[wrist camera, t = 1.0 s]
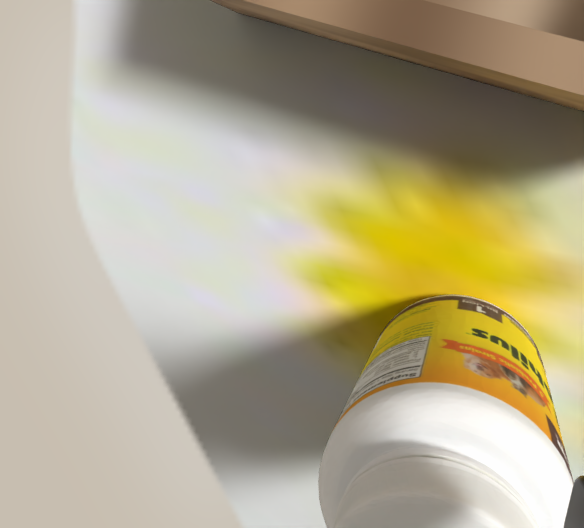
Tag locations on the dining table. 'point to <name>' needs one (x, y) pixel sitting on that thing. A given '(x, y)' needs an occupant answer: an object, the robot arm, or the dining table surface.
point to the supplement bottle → (448, 427)
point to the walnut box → (454, 37)
